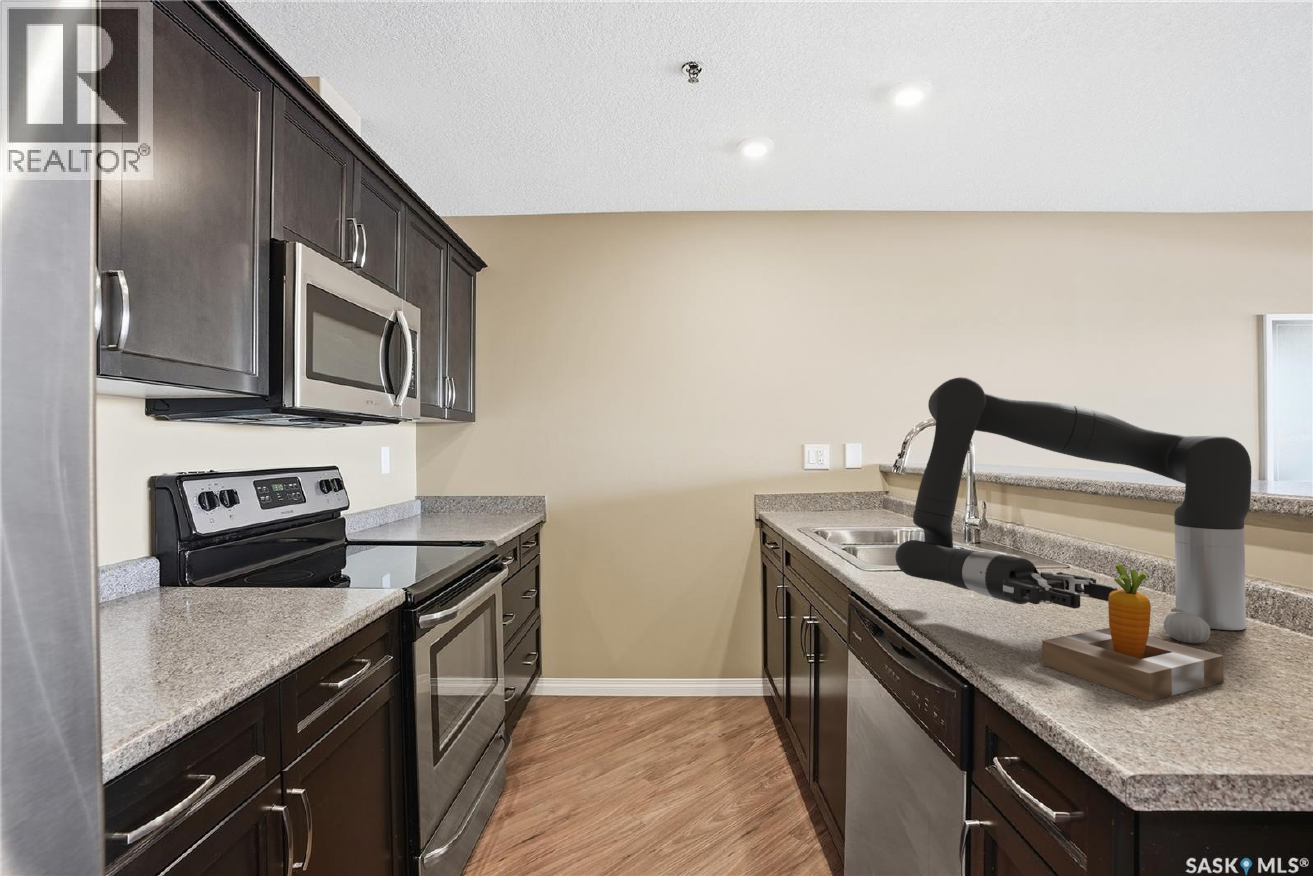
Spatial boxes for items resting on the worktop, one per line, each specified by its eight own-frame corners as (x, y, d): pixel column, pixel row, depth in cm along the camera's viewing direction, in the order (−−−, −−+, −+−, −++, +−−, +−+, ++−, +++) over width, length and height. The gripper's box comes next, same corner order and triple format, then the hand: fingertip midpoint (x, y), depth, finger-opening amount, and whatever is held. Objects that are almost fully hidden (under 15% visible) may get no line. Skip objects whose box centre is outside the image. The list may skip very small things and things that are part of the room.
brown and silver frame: (1113, 649, 96) (1112, 627, 96) (1223, 681, 83) (1223, 655, 83) (1042, 664, 90) (1042, 640, 90) (1150, 701, 77) (1149, 673, 77)
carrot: (1158, 681, 83) (1160, 571, 83) (1117, 678, 84) (1119, 569, 84) (1137, 667, 88) (1139, 563, 88) (1098, 664, 89) (1100, 561, 89)
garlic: (1155, 639, 101) (1155, 607, 101) (1171, 634, 104) (1170, 603, 104) (1201, 649, 96) (1201, 616, 96) (1216, 644, 98) (1216, 611, 98)
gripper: (968, 557, 102) (1065, 577, 87) (1027, 551, 108) (1128, 568, 93) (968, 602, 102) (1066, 630, 87) (1028, 594, 108) (1129, 618, 93)
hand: (1098, 598), depth 90 cm, fingers open, 8 cm apart
